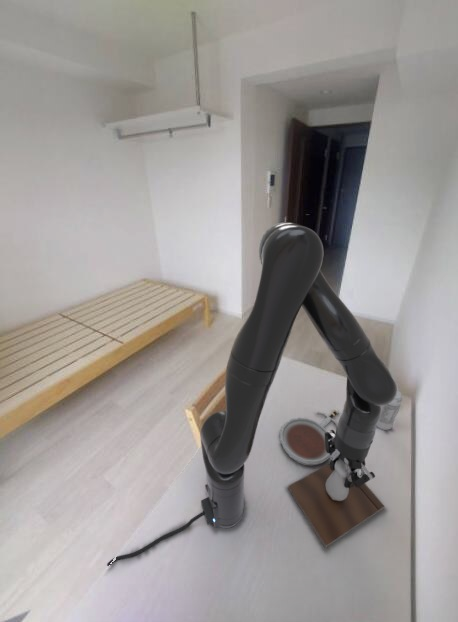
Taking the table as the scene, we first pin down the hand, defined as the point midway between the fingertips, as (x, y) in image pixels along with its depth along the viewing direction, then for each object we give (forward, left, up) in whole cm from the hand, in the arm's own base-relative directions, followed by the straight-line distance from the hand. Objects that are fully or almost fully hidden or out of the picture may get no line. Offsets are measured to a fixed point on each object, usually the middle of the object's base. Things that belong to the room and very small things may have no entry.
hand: (340, 476), depth 70 cm
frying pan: (+9, +18, -10) cm, 23 cm away
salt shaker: (0, 0, -8) cm, 8 cm away
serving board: (0, 0, -10) cm, 10 cm away
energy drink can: (+33, +11, -10) cm, 36 cm away
